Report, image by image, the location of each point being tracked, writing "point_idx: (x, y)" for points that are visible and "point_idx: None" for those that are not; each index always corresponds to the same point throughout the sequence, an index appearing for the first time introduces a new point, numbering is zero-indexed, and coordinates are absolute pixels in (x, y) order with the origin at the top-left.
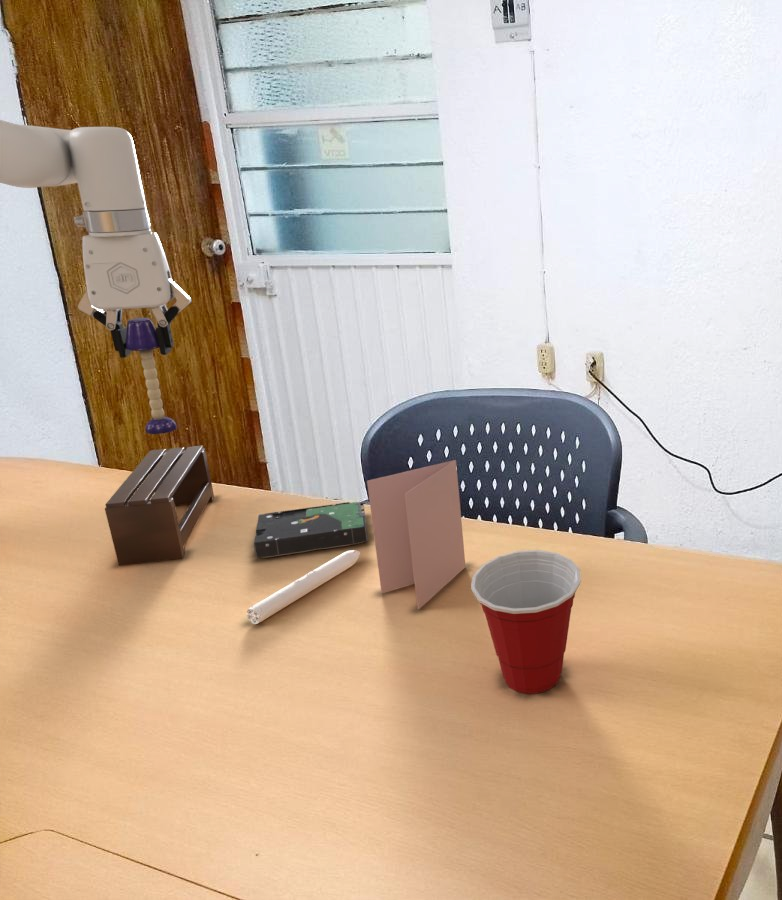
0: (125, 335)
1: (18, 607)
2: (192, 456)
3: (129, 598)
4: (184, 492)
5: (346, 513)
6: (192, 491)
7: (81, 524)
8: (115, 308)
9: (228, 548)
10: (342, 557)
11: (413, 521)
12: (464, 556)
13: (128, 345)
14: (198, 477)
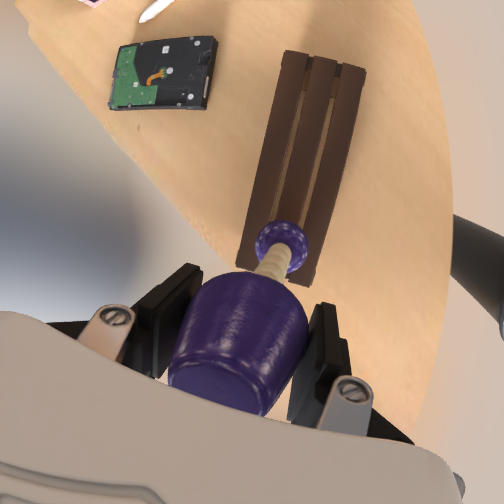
0: (298, 381)
1: (426, 59)
2: (250, 218)
3: (335, 20)
4: None
5: (125, 80)
6: None
7: (393, 242)
8: (314, 429)
9: (243, 80)
10: (152, 4)
11: None
12: (89, 5)
13: (298, 309)
14: None
